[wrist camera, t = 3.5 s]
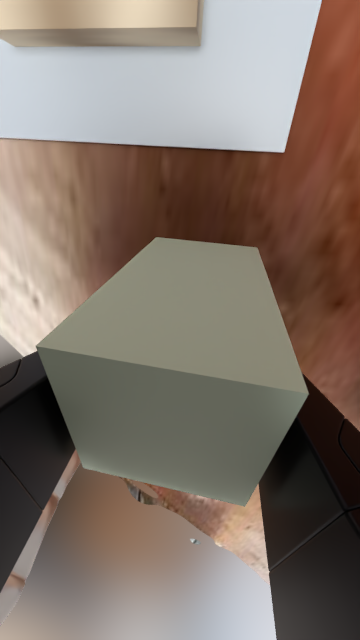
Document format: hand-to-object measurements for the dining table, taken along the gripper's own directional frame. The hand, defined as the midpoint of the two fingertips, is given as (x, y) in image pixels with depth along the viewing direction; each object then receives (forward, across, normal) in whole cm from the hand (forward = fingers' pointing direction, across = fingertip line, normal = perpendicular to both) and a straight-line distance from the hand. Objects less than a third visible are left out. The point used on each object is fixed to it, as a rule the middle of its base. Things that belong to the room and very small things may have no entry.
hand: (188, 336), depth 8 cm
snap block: (+4, 0, 0) cm, 4 cm away
